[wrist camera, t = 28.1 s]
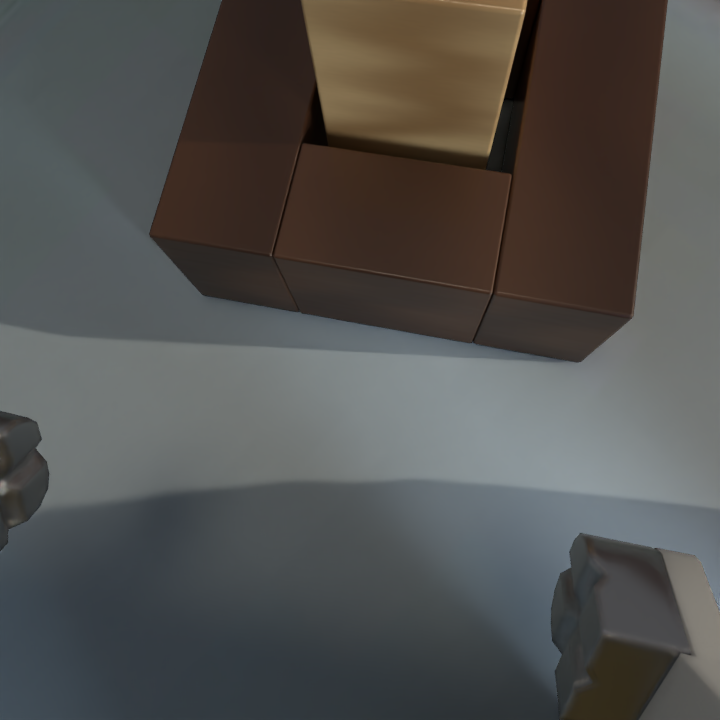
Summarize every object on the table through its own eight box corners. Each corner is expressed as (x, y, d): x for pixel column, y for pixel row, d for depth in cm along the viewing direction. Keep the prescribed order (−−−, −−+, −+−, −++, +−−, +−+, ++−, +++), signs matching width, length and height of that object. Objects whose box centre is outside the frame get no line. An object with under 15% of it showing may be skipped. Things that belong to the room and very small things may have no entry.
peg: (339, 207, 18) (296, -15, 11) (365, 94, 19) (343, -186, 12) (471, 228, 18) (526, 13, 10) (492, 111, 19) (556, -167, 11)
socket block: (201, 295, 18) (147, 235, 14) (287, -9, 21) (261, -130, 17) (580, 363, 17) (634, 318, 13) (622, 32, 19) (678, -89, 15)
